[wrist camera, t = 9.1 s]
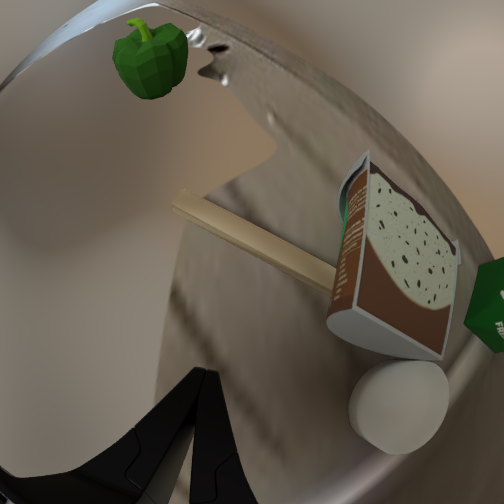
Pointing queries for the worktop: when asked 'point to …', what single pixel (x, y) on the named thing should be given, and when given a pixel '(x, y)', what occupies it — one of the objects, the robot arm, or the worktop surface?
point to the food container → (391, 270)
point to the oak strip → (256, 241)
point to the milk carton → (488, 305)
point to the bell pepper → (151, 59)
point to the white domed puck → (399, 404)
